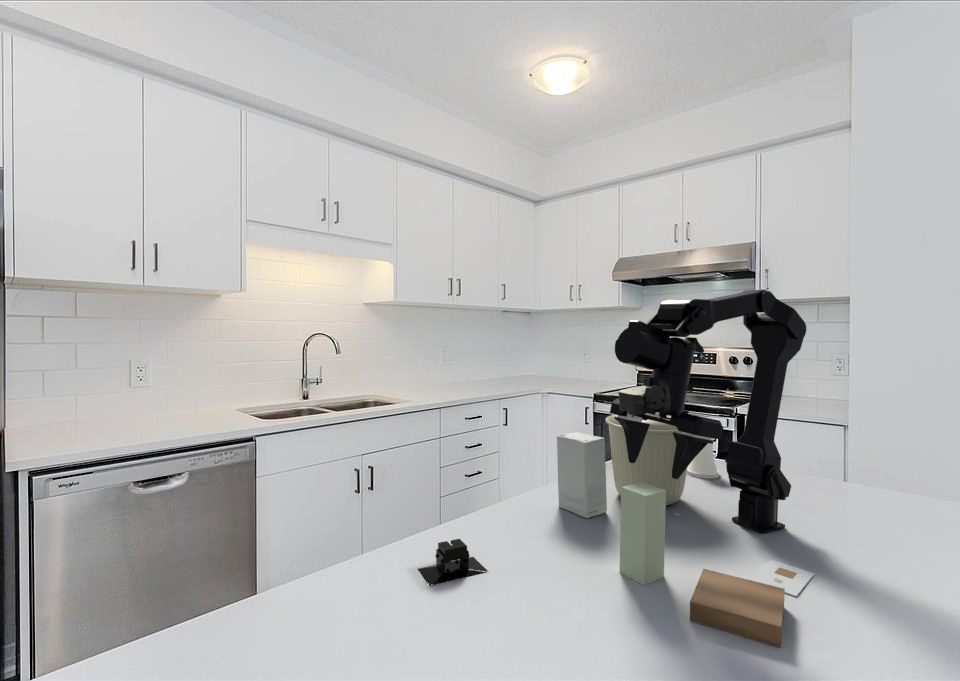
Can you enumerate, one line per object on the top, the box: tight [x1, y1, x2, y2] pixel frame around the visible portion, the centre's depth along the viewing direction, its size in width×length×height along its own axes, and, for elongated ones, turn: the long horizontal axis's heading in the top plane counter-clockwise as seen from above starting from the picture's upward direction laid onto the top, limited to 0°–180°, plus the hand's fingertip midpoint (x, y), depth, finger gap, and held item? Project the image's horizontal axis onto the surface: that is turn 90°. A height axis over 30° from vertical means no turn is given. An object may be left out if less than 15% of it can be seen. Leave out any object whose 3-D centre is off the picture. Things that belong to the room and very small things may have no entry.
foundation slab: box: [689, 568, 786, 649], centre depth 67 cm, size 10×10×2 cm
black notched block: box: [417, 538, 489, 587], centre depth 78 cm, size 12×7×5 cm, turn 116°
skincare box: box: [556, 431, 608, 519], centre depth 102 cm, size 8×6×15 cm
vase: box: [686, 438, 720, 479], centre depth 126 cm, size 8×8×10 cm
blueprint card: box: [749, 559, 815, 598], centre depth 76 cm, size 9×6×1 cm, turn 134°
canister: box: [605, 412, 687, 506], centre depth 109 cm, size 18×18×21 cm
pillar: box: [619, 482, 667, 586], centre depth 77 cm, size 4×4×13 cm
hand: (652, 470), depth 83 cm, fingers open, 9 cm apart
